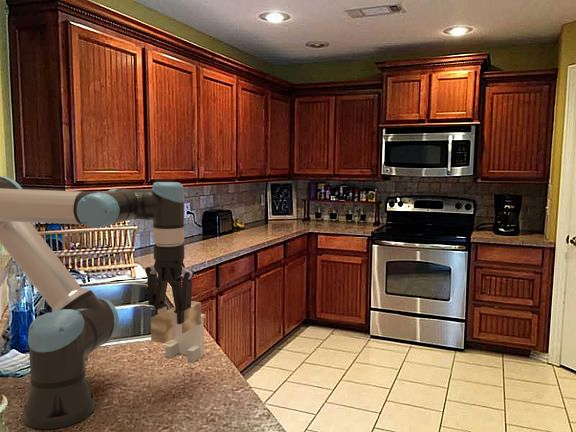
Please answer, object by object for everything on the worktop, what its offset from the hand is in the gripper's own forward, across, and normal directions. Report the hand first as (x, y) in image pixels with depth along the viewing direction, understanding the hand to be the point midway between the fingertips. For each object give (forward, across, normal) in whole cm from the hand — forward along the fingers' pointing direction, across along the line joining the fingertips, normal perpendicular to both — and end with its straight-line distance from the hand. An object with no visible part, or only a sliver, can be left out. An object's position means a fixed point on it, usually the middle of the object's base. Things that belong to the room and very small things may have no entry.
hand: (170, 334), depth 123 cm
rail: (0, 0, -3) cm, 3 cm away
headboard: (+16, +11, -22) cm, 29 cm away
